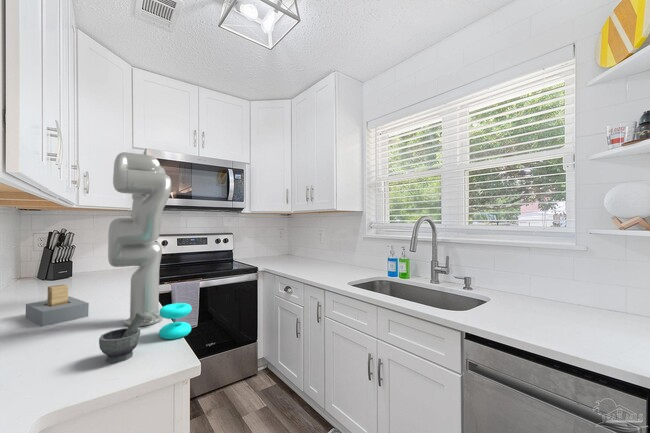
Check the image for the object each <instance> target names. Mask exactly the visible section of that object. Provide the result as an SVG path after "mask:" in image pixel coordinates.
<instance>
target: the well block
mask: <svg viewBox="0 0 650 433" xmlns="http://www.w3.org/2000/svg"><path fill="white" fill-rule="evenodd" d="M89 308H90V307H89V302H87V301H84V300H81V299H79V298H75V297H73V296H70V295H68V303H67V304H62V305H56V306H51V307H48V306H47V299H46V300H45V299H44V300H40V301H35V302H28V303H25V318H26V319H28V320H30V321H31V322H33V323H35V324H36V325H39V326H40V327H43V328H44V327H48V326H51V325H52V326H53V325H56V324H60V323H65V322H69V321H74V320H78V319H82V318H86V317H87V318H88V317H89Z"/></svg>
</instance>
